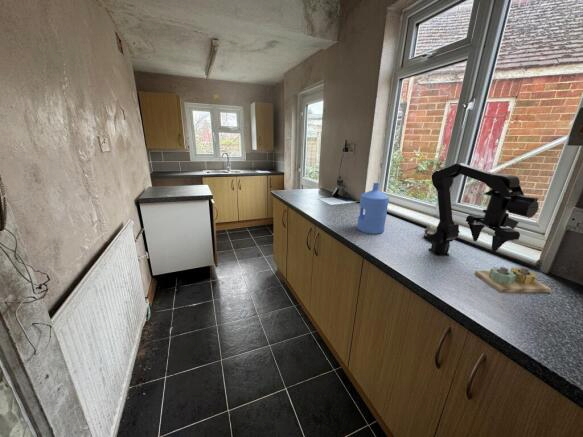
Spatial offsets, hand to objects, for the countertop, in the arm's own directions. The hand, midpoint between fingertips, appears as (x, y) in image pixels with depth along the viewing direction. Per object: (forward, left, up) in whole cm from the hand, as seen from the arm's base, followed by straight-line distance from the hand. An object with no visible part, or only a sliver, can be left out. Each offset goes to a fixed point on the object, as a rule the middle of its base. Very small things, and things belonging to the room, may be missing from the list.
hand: (483, 246), depth 93 cm
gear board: (+7, -8, -11) cm, 15 cm away
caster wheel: (+2, +32, -12) cm, 34 cm away
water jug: (-28, +47, -12) cm, 56 cm away
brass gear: (+11, -8, -10) cm, 17 cm away
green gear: (+3, -8, -10) cm, 13 cm away
